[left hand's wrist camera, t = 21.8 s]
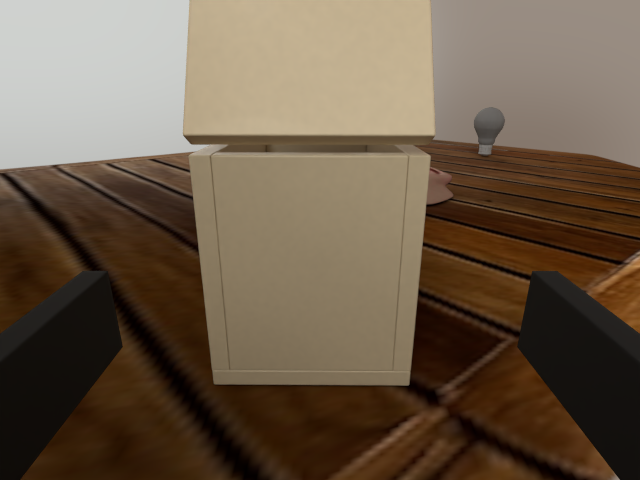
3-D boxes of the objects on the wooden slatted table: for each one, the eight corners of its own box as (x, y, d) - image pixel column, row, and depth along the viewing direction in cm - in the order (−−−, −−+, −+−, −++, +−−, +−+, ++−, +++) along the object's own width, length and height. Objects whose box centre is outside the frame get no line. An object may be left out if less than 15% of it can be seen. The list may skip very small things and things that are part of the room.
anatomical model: (454, 175, 48) (359, 169, 51) (450, 207, 49) (358, 199, 53) (458, 158, 59) (380, 154, 63) (455, 185, 61) (379, 179, 64)
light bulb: (474, 157, 86) (481, 107, 82) (466, 153, 91) (472, 106, 88) (503, 157, 85) (511, 108, 82) (493, 153, 91) (500, 106, 88)
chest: (262, 254, 36) (255, 123, 32) (371, 254, 35) (377, 123, 32) (213, 385, 20) (188, 155, 16) (409, 386, 20) (431, 155, 16)
